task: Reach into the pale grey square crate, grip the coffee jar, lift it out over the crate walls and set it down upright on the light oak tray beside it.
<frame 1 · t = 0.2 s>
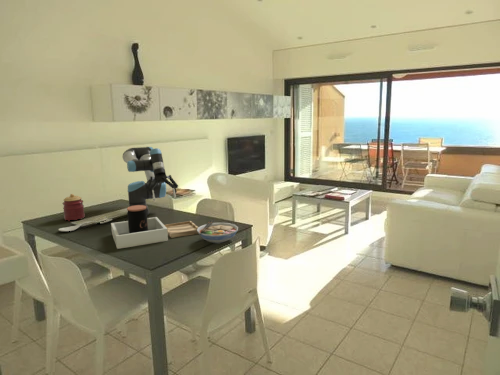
hand: (164, 198, 237), 16 cm above the table, tool tilted 35°, fingers open, 13 cm apart
spoon: (85, 227, 233), on the table
crate: (139, 237, 211), on the table
canister: (74, 219, 252), on the table
coffee jar: (139, 237, 211), resting in crate
tray: (181, 230, 221), on the table
ramen bowl: (218, 241, 202), on the table
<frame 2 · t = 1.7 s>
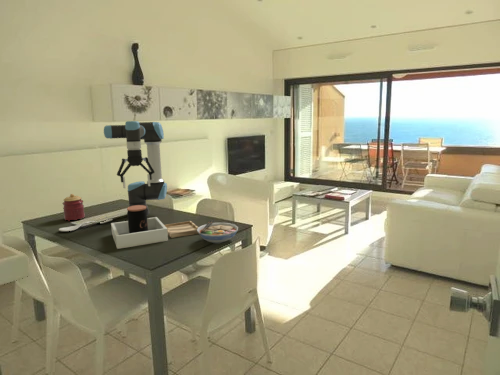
hand: (137, 187, 206), 30 cm above the table, tool pointing down, fingers open, 13 cm apart
nothing on the table moved.
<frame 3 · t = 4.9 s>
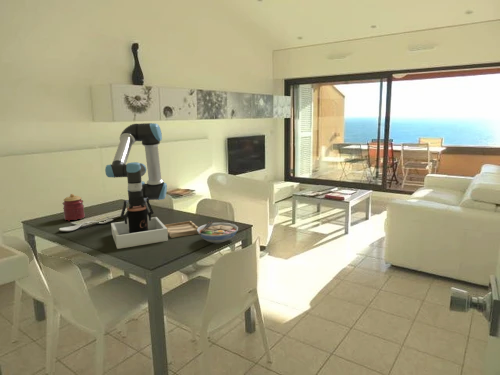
hand: (138, 227, 210), 6 cm above the table, tool pointing down, fingers closed on coffee jar, 11 cm apart
coffee jar: (139, 237, 211), resting in crate, touching gripper
everything else where it was.
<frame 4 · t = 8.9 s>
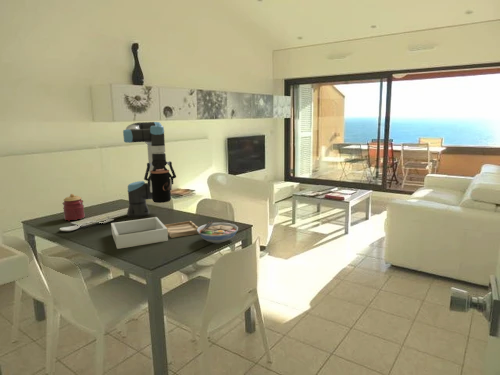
hand: (161, 191, 212), 26 cm above the table, tool pointing down, fingers closed on coffee jar, 11 cm apart
coffee jar: (161, 201, 213), point 20 cm above the table, touching gripper
everything else where it was.
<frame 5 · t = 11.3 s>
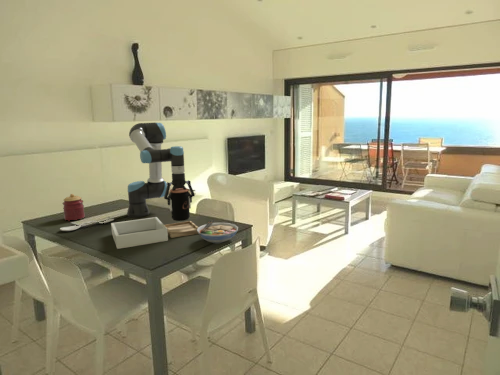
hand: (180, 209, 219), 14 cm above the table, tool pointing down, fingers closed on coffee jar, 11 cm apart
coffee jar: (180, 219, 220), point 7 cm above the table, touching gripper
everything else where it was.
when the fingers open (8 cm above the table, at t = 13.3 s): coffee jar drops 1 cm, resting on tray.
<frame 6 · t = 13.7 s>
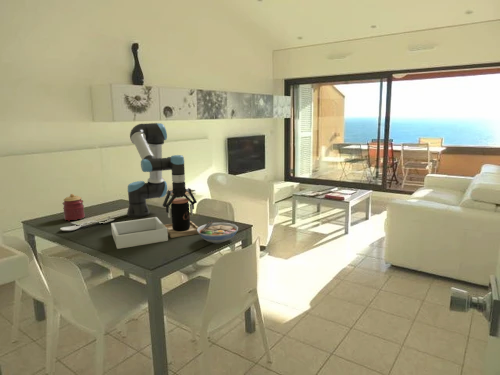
hand: (180, 216, 219), 9 cm above the table, tool pointing down, fingers open, 13 cm apart
coffee jar: (181, 229, 221), point 1 cm above the table, touching tray
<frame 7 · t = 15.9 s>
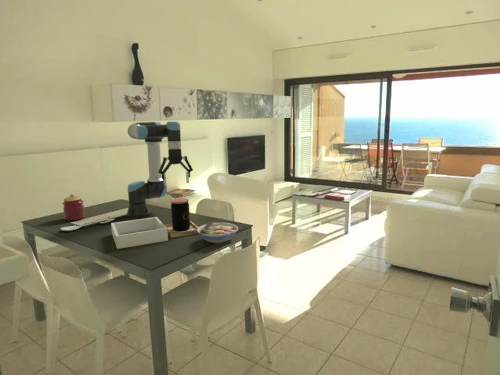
hand: (176, 184, 217), 29 cm above the table, tool pointing down, fingers open, 13 cm apart
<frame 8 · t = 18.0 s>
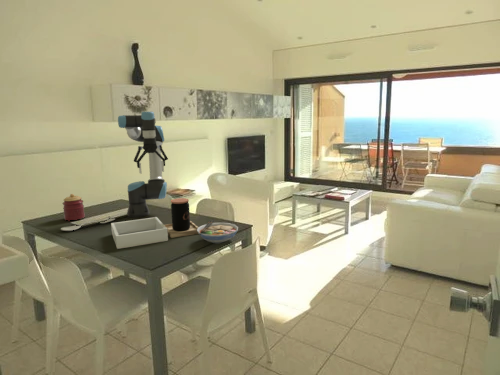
hand: (151, 172, 224), 35 cm above the table, tool pointing down, fingers open, 13 cm apart
at the end: coffee jar inside the target area on the tray (0.0 cm from its centre), point 1.0 cm above the tray's base; coffee jar tilted 0°; the gripper is holding nothing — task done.
